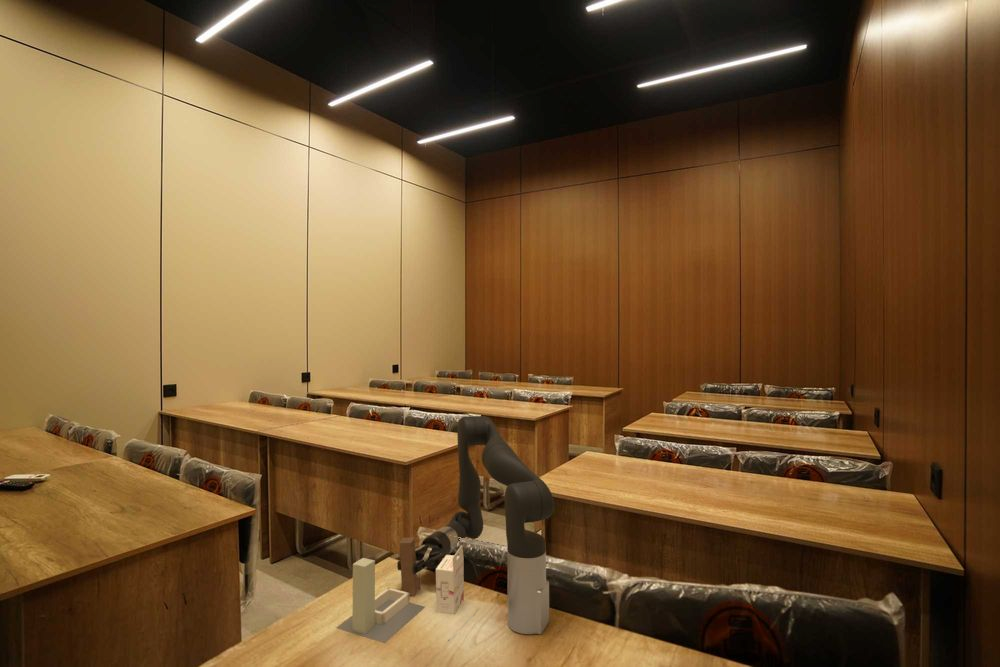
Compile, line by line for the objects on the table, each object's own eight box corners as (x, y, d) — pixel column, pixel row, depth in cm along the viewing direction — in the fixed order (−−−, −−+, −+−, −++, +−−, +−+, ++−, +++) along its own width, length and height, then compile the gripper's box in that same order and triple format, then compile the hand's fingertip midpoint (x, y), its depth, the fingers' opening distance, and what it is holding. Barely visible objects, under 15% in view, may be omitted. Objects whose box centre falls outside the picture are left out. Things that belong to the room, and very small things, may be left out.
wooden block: (414, 600, 124) (411, 542, 124) (402, 600, 124) (399, 542, 124) (421, 587, 130) (417, 532, 131) (409, 588, 130) (406, 532, 131)
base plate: (425, 611, 119) (425, 596, 119) (384, 648, 104) (384, 631, 104) (380, 599, 125) (380, 585, 125) (335, 633, 110) (335, 616, 110)
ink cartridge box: (445, 599, 125) (445, 542, 125) (464, 601, 124) (464, 543, 124) (435, 617, 116) (434, 556, 117) (454, 619, 115) (454, 558, 116)
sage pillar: (374, 625, 111) (374, 560, 111) (364, 634, 107) (364, 566, 108) (362, 622, 112) (363, 557, 113) (352, 630, 109) (352, 563, 109)
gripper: (420, 527, 143) (384, 549, 128) (461, 534, 137) (429, 558, 122) (420, 552, 143) (384, 577, 127) (461, 560, 137) (429, 588, 122)
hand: (406, 568), depth 125 cm, fingers closed on wooden block, 4 cm apart
